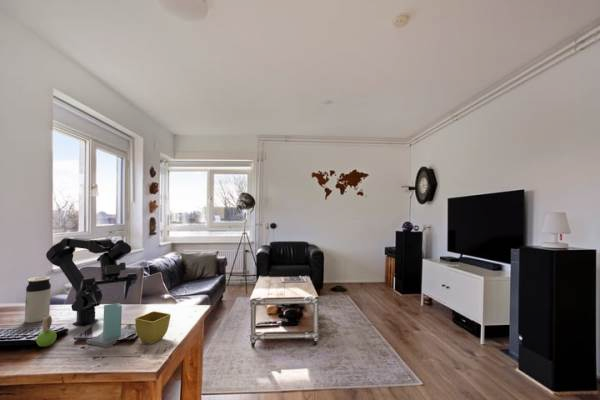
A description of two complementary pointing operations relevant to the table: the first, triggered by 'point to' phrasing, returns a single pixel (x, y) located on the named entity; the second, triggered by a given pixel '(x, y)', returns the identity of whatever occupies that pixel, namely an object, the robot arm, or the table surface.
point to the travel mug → (37, 299)
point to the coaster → (107, 342)
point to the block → (112, 320)
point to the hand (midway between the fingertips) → (111, 301)
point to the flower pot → (152, 326)
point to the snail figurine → (46, 333)
